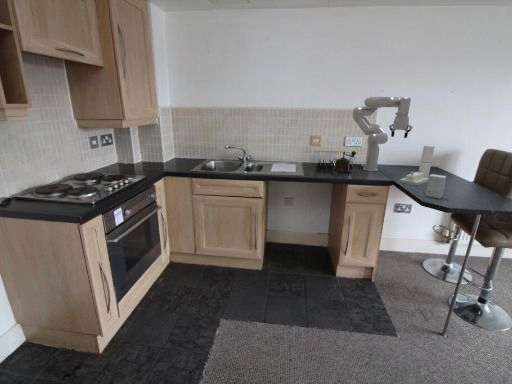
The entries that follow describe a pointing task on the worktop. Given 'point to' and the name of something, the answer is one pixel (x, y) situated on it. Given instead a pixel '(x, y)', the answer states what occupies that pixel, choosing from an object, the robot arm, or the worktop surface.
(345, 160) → the dark piece
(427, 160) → the tall grey block
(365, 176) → the worktop surface
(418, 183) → the mount board
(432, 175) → the small box
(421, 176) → the power strip
